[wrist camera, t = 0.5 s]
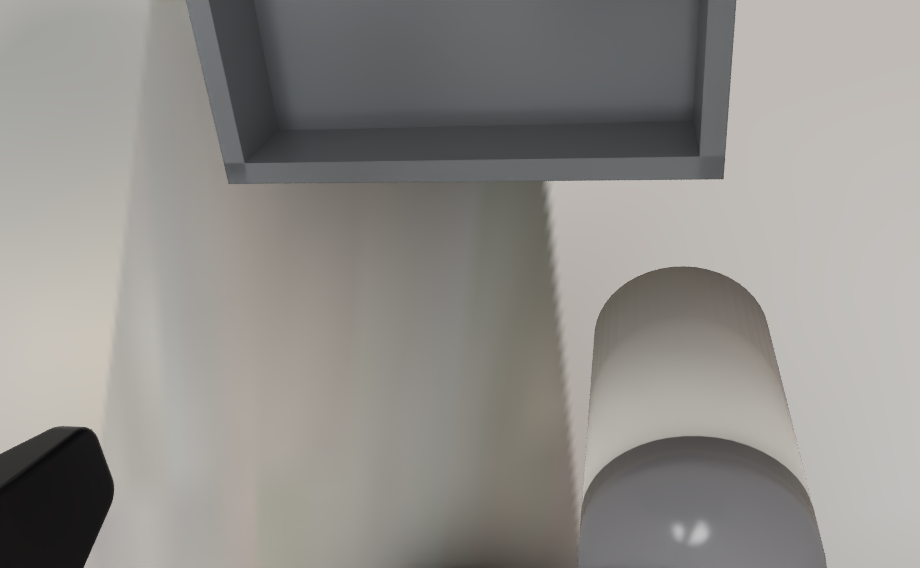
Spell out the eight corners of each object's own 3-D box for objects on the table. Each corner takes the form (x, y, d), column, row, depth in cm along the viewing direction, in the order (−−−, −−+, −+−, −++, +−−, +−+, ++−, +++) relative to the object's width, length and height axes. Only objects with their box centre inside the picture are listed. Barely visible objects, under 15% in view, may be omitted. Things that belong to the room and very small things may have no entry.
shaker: (760, 411, 24) (811, 660, 17) (594, 405, 25) (579, 638, 18) (777, 267, 22) (842, 487, 15) (593, 265, 22) (576, 471, 16)
